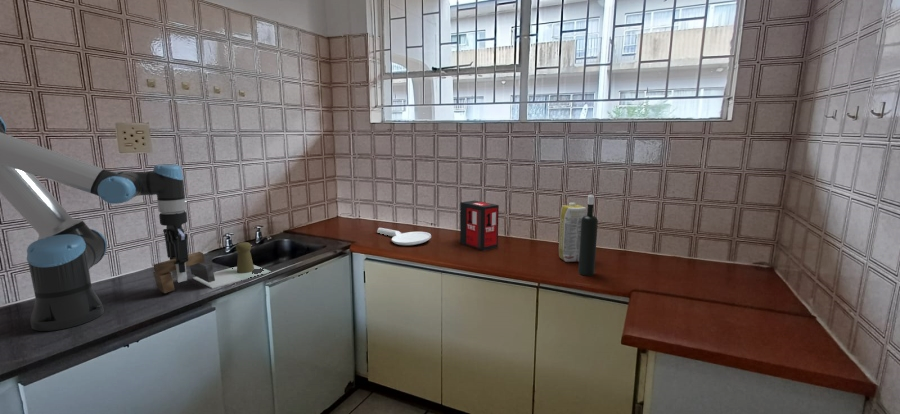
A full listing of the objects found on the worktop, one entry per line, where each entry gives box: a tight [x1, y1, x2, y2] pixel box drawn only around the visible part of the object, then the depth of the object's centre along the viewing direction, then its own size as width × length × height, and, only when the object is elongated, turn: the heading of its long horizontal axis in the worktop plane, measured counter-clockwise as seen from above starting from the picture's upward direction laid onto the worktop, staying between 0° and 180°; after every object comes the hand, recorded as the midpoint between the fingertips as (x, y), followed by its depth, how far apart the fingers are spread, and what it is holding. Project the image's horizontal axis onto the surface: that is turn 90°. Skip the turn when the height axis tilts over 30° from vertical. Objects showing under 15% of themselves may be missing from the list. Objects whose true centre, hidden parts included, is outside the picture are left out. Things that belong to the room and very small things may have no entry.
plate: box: [192, 264, 272, 290], centre depth 152 cm, size 21×16×1 cm
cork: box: [235, 241, 255, 273], centre depth 155 cm, size 6×6×11 cm
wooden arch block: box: [152, 251, 215, 294], centre depth 138 cm, size 14×14×9 cm
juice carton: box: [558, 202, 587, 263], centre depth 169 cm, size 9×8×24 cm
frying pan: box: [376, 227, 432, 246], centre depth 204 cm, size 35×19×5 cm, turn 46°
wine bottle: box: [578, 194, 599, 277], centre depth 152 cm, size 6×6×30 cm
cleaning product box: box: [459, 200, 500, 252], centre depth 191 cm, size 16×9×20 cm, turn 38°
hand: (180, 279), depth 138 cm, fingers closed on wooden arch block, 3 cm apart
